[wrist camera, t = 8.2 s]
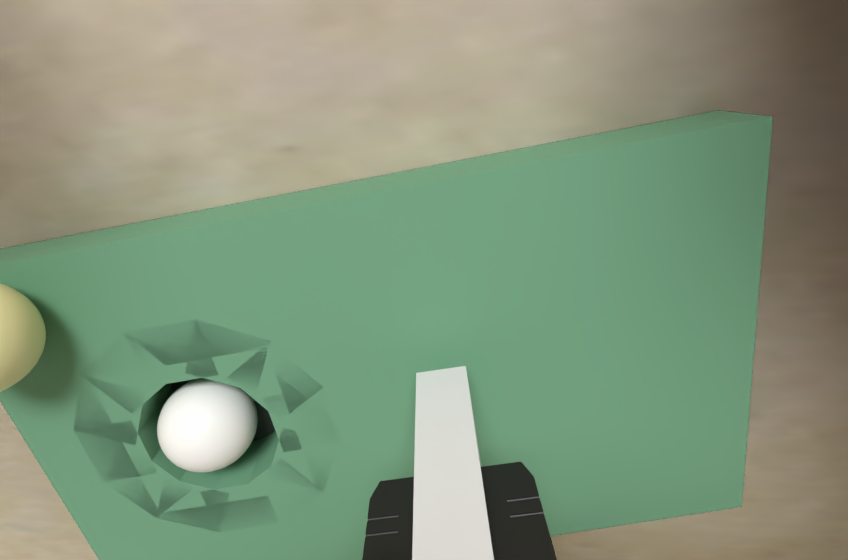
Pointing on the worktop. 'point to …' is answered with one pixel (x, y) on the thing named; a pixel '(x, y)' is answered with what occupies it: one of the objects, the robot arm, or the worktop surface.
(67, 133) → the worktop surface
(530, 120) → the worktop surface
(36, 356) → the ball
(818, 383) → the worktop surface
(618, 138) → the putting mat
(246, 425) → the ball
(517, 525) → the robot arm
